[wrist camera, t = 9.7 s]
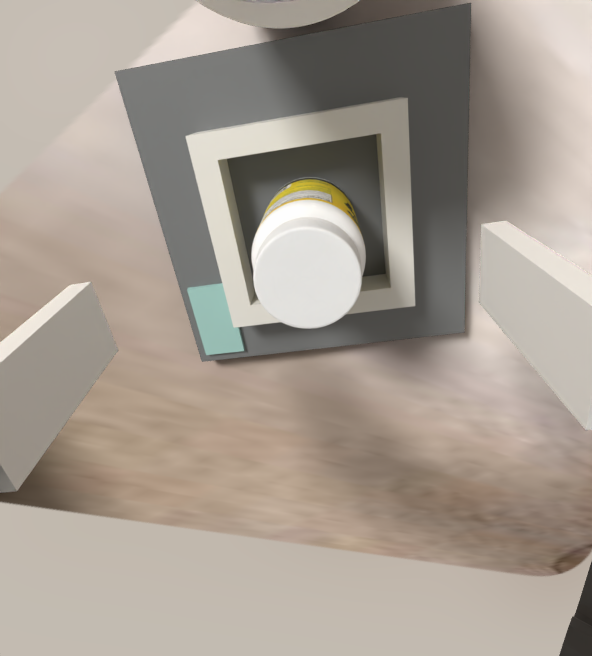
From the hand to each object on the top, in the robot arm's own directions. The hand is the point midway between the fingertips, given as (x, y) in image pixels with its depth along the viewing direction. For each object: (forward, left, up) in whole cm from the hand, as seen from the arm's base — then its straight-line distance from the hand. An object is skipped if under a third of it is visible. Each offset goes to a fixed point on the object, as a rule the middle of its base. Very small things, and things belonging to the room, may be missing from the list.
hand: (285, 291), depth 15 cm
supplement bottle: (+1, 0, -10) cm, 10 cm away
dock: (+1, 0, -11) cm, 11 cm away
